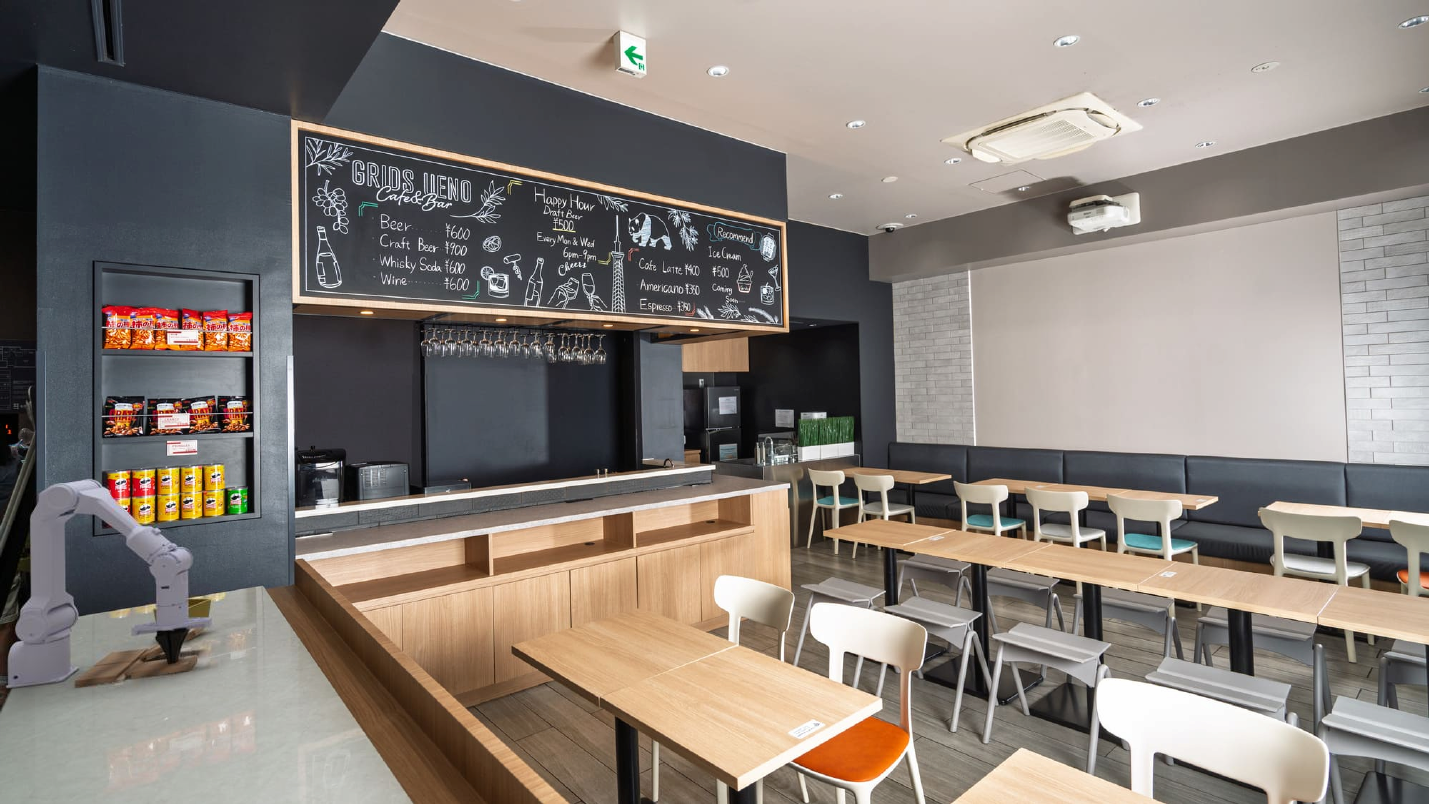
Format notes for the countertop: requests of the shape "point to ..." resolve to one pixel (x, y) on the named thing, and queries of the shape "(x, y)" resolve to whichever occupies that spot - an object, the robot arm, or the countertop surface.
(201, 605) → the flower pot
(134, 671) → the plank near
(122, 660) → the laid floor
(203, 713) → the countertop surface
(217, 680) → the countertop surface
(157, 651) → the plank far
